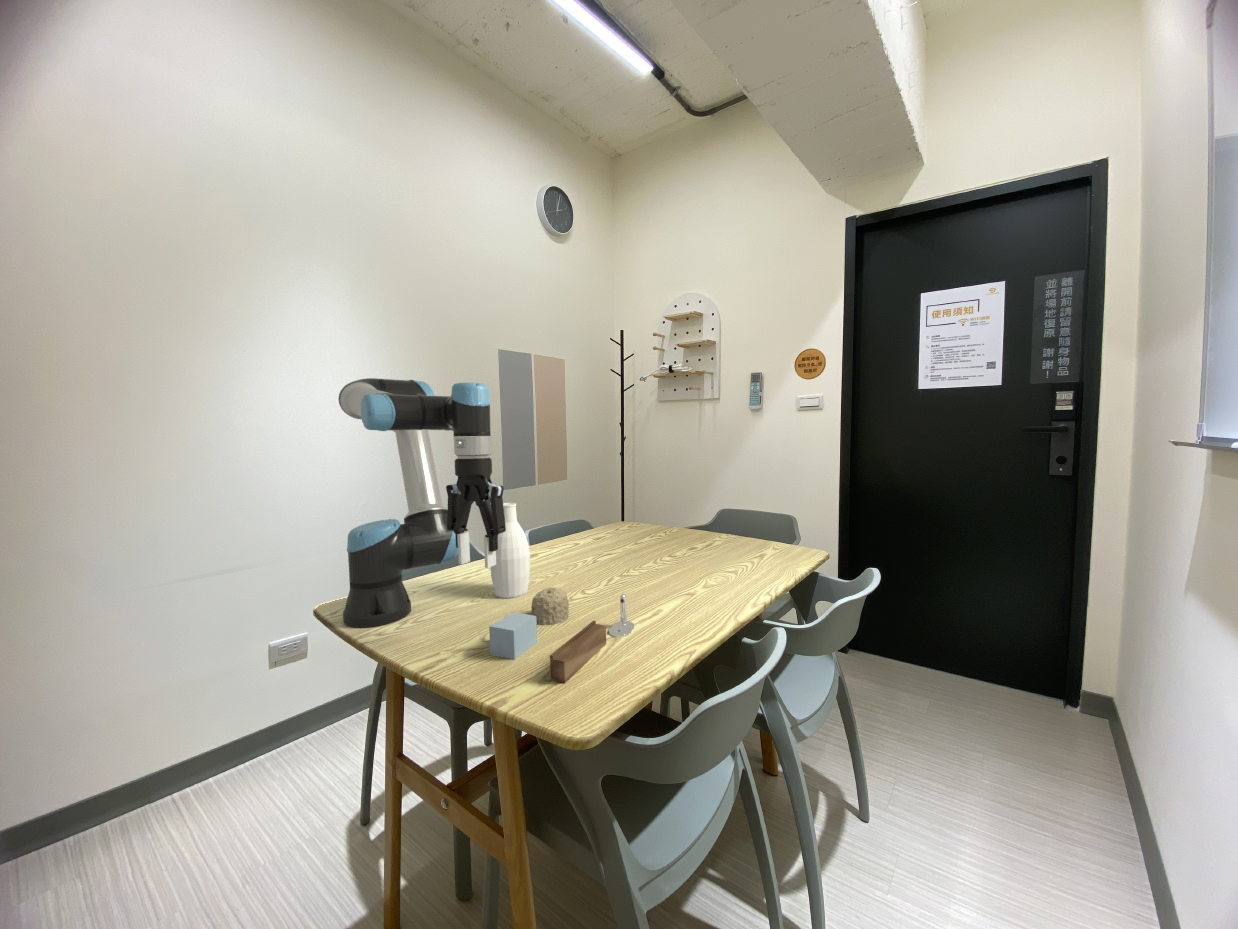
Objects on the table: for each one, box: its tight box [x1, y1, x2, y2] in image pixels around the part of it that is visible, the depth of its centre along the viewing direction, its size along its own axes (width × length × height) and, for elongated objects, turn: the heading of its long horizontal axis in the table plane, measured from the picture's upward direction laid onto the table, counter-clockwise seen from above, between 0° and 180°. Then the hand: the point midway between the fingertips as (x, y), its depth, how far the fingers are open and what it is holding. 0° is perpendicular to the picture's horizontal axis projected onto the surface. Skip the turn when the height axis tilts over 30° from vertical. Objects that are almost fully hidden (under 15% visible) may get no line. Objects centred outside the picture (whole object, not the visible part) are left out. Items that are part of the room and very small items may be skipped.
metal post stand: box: [608, 593, 635, 638], centre depth 106 cm, size 8×5×8 cm
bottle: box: [489, 502, 531, 599], centre depth 132 cm, size 11×11×25 cm
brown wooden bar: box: [549, 620, 607, 684], centre depth 92 cm, size 3×17×5 cm, turn 156°
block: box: [488, 612, 538, 660], centre depth 98 cm, size 6×8×6 cm
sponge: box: [530, 586, 570, 626], centre depth 114 cm, size 9×10×10 cm
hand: (477, 564), depth 101 cm, fingers open, 6 cm apart
